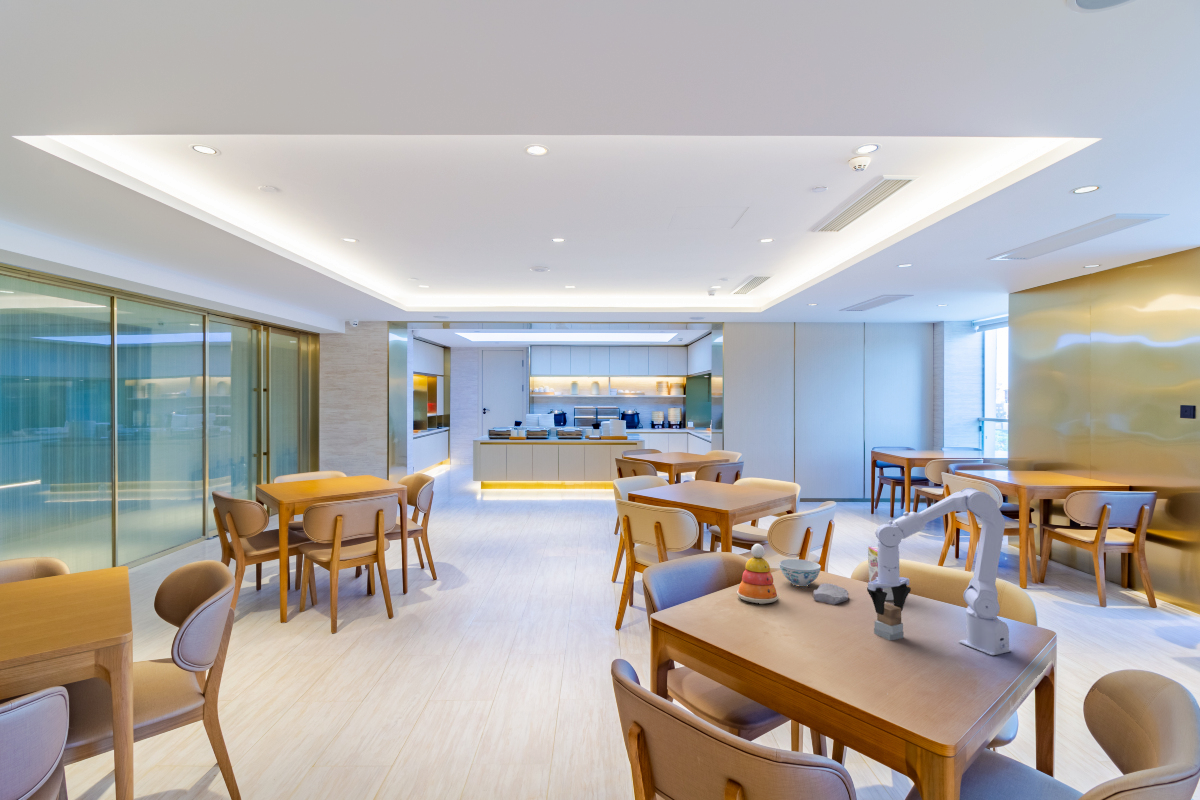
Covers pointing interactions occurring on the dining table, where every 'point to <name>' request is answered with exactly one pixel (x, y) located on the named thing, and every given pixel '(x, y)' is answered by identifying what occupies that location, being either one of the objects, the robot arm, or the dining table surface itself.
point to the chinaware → (800, 571)
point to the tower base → (889, 635)
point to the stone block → (830, 594)
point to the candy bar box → (874, 570)
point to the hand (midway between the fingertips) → (889, 611)
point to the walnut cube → (890, 615)
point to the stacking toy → (757, 579)
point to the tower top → (888, 627)
